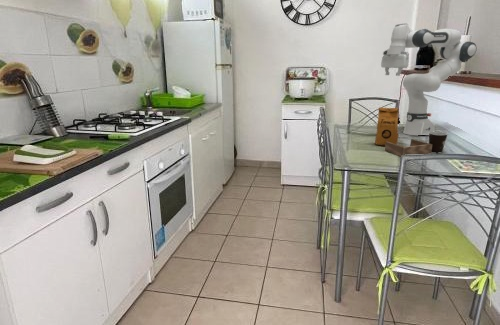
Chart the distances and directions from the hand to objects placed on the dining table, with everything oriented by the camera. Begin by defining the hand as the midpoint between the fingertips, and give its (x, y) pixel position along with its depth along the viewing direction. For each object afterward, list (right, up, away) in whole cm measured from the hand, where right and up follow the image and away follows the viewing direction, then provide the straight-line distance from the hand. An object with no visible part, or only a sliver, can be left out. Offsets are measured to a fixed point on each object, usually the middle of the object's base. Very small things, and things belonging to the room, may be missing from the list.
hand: (392, 75), depth 204 cm
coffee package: (-8, -44, -9) cm, 45 cm away
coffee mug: (+14, -48, -24) cm, 56 cm away
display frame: (-3, -48, -25) cm, 54 cm away
